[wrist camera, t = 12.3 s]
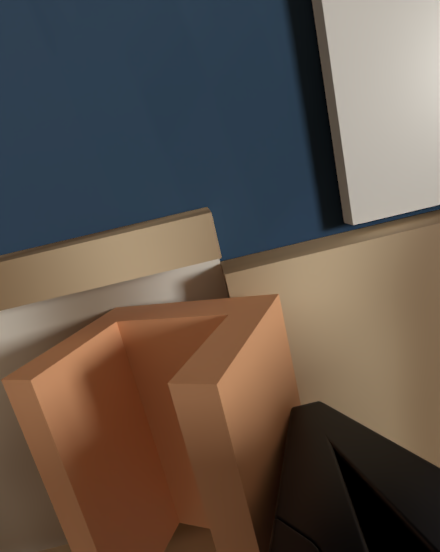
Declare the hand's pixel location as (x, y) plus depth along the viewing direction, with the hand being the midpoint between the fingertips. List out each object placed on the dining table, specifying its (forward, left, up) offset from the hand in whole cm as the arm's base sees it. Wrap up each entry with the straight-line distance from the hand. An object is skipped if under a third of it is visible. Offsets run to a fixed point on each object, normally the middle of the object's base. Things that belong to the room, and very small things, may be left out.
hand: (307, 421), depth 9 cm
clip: (+2, 0, -1) cm, 2 cm away
